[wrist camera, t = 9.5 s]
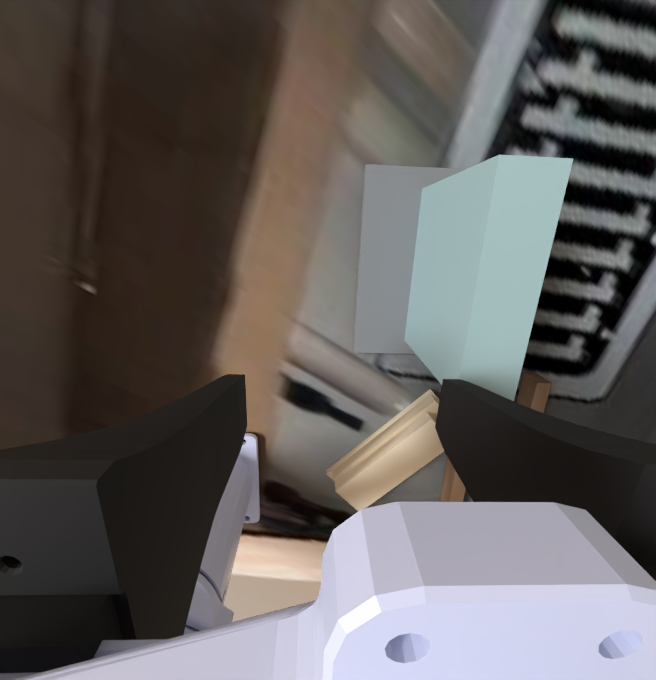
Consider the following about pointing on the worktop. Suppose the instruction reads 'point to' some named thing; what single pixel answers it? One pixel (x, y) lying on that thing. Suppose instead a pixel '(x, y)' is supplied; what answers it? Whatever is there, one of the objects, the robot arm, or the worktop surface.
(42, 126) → the worktop surface
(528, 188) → the tall board
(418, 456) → the offcut planks
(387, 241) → the slate mat
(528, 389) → the walnut rack
